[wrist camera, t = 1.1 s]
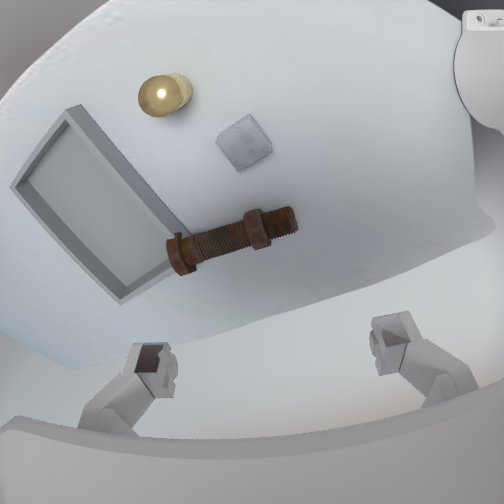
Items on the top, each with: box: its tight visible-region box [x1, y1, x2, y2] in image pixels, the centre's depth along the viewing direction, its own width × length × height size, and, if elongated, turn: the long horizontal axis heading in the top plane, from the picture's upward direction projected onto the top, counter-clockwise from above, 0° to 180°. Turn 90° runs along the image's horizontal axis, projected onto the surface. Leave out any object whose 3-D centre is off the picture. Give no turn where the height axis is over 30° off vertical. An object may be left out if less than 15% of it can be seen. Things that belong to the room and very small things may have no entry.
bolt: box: [166, 206, 298, 276], centre depth 37 cm, size 6×5×15 cm
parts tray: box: [10, 104, 192, 305], centre depth 37 cm, size 15×24×4 cm, turn 35°
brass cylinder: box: [138, 74, 192, 117], centre depth 28 cm, size 4×4×6 cm
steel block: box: [215, 114, 272, 172], centre depth 32 cm, size 4×4×4 cm
